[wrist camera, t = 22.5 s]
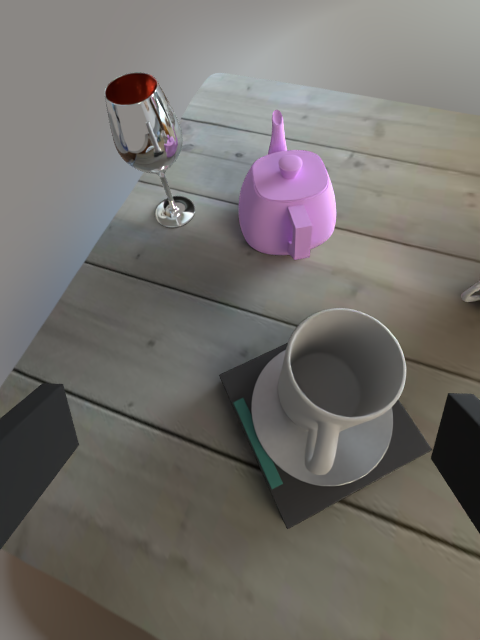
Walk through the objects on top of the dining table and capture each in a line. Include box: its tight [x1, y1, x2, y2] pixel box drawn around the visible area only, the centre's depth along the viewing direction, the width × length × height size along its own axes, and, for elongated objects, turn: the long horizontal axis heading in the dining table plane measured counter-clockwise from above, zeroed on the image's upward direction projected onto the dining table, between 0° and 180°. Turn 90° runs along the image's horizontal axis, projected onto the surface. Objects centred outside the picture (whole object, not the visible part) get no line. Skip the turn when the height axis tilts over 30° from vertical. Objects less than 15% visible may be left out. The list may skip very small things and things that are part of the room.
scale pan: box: [251, 350, 393, 486], centre depth 32 cm, size 14×14×1 cm
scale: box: [219, 343, 432, 529], centre depth 34 cm, size 16×16×4 cm
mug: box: [278, 308, 406, 475], centre depth 26 cm, size 12×8×11 cm
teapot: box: [239, 110, 336, 260], centre depth 42 cm, size 13×20×11 cm
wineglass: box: [104, 72, 195, 228], centre depth 41 cm, size 8×8×18 cm
